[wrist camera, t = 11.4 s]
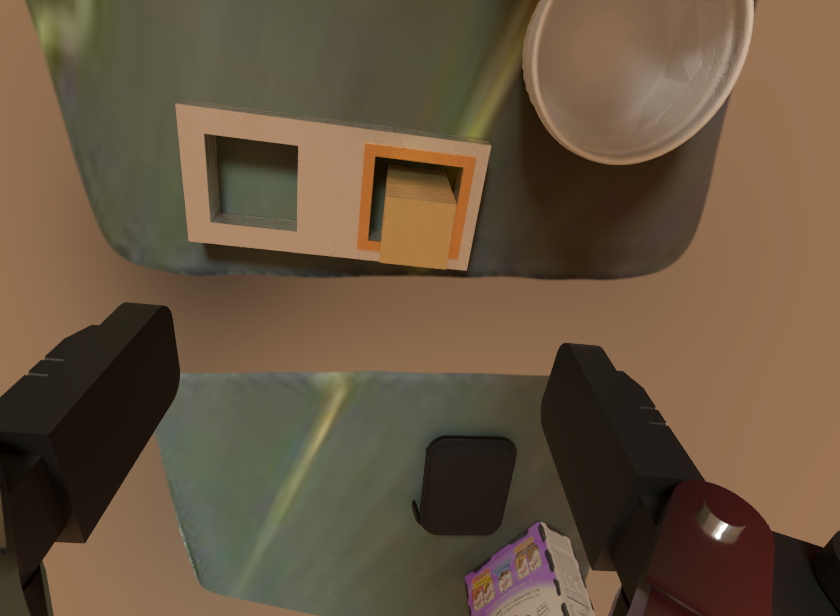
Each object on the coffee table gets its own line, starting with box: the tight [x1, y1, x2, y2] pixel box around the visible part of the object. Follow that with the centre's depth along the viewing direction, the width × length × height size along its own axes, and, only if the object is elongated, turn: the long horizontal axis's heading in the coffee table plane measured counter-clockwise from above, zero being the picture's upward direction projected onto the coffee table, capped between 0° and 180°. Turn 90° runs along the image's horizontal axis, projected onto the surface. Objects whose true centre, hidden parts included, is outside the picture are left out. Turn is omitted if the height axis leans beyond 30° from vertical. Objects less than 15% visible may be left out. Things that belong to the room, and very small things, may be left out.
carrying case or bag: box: [412, 435, 517, 535], centre depth 54 cm, size 11×3×15 cm
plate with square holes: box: [175, 100, 491, 271], centre depth 38 cm, size 10×22×3 cm, turn 82°
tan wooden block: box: [379, 164, 457, 270], centre depth 36 cm, size 4×4×9 cm
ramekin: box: [522, 0, 754, 165], centre depth 32 cm, size 13×13×7 cm
